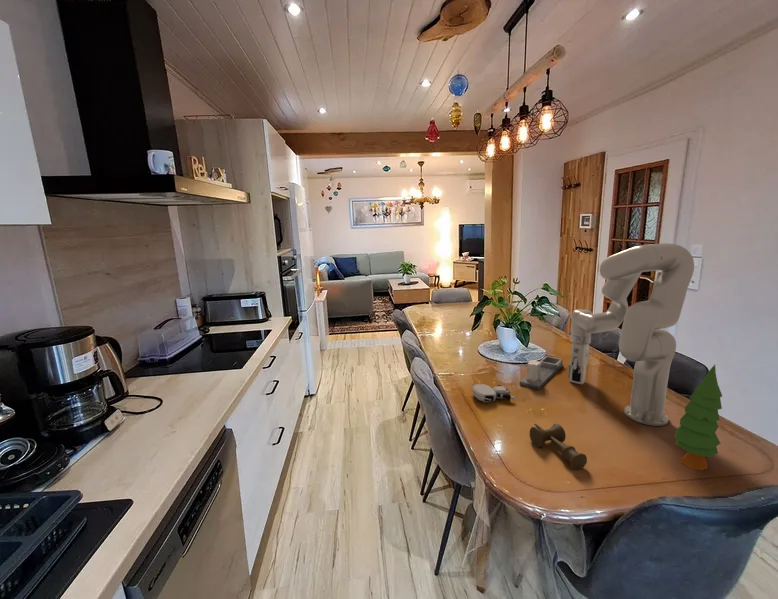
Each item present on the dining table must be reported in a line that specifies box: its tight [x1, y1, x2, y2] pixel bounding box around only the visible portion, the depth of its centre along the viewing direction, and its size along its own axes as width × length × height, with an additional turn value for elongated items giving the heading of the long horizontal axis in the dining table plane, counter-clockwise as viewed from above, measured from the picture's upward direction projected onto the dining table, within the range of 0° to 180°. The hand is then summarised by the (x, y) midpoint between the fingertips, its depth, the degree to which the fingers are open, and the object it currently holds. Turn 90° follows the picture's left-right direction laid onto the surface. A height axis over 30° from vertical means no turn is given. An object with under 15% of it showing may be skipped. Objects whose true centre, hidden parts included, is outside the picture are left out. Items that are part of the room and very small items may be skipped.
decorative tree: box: [674, 364, 723, 471], centre depth 96 cm, size 10×9×30 cm
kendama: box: [529, 423, 588, 471], centre depth 107 cm, size 6×10×20 cm
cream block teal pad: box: [567, 362, 587, 385], centre depth 151 cm, size 4×6×8 cm
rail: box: [519, 355, 564, 391], centre depth 159 cm, size 32×8×10 cm, turn 138°
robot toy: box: [469, 383, 516, 403], centre depth 140 cm, size 12×4×15 cm
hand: (577, 378), depth 151 cm, fingers closed on cream block teal pad, 3 cm apart
